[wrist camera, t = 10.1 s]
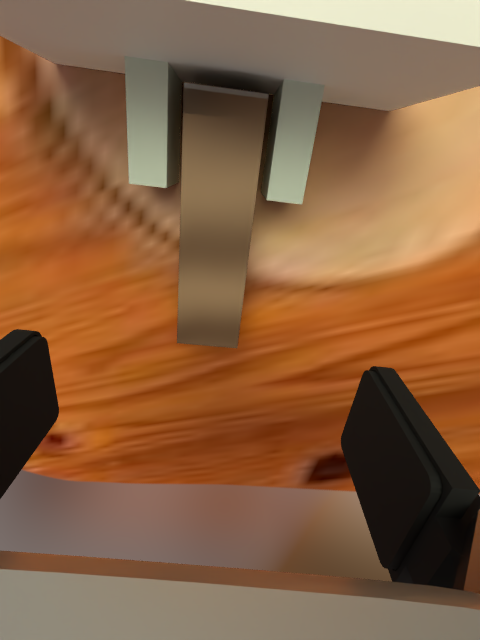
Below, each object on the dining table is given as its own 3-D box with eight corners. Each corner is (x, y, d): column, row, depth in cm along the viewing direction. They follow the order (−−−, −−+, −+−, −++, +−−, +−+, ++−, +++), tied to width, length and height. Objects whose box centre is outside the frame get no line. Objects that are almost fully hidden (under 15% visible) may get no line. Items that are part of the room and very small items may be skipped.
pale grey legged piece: (403, 72, 19) (719, -81, 7) (367, 204, 23) (532, 266, 10) (46, 19, 18) (-389, -297, 5) (63, 168, 21) (-181, 186, 9)
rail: (195, 98, 20) (183, 82, 15) (261, 107, 20) (268, 93, 15) (187, 310, 26) (177, 342, 22) (236, 315, 26) (237, 348, 22)
